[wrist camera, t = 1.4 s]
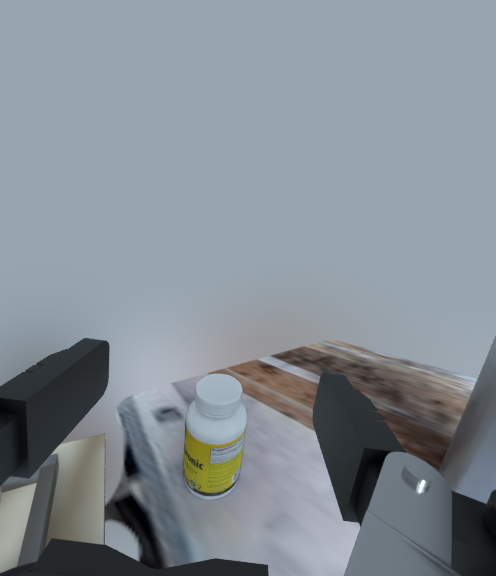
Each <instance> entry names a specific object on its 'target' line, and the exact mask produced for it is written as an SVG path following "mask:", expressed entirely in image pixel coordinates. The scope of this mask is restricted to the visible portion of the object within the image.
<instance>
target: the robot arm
mask: <svg viewBox="0 0 496 576" xmlns="http://www.w3.org/2000/svg"><path fill="white" fill-rule="evenodd" d="M108 377H109V343H108V342H107V341H104V340H96V339H89V338H84V339H82V340H81V341H79V342H78V343H76V344H75V345H73V346H72V347H70V348H69V349H65V350H63V351H60V352H57V353H54V354H51V355H49V356H48V357H46V358H44V359H43V360H41V361H40V362H38V363H37V364H36V365H33V366H32V367H30V368H29V369H27V370H26V371H25V372H22V373H21V374H19V375H18V376H16V377H14V378H13V379H11V380H10V381H8V382H7V383H5V384H3V385H2V386H0V502H1V495H2V493H1V485H2V484H3V483H4V482H5V481H6V480H7V479H8V478H9V477H10V476H11V477H19V478H27V479H30V478H31V476H32V475H33V474H34V473H35V472H36V471H37V470H38V469H39V467H40V466H41V465H42V464H43V463H44V462H45V461H46V459H47V458H48V457H49V456H50V455H51V454H52V453H53V452H54V450H55V449H56V448H57V447H58V446H59V445H60V444H61V442H62V441H63V440H64V439H65V438H66V437H67V435H68V434H69V433H70V432H71V431H72V430H73V429H74V428H75V427H76V425H77V424H78V423H79V422H80V421H81V420H82V419H83V418H84V416H85V415H86V414H87V413H88V412H89V411H90V410H91V408H92V407H93V406H94V405H95V404H96V403H97V402H98V400H99V399H100V398H101V397H102V396H103V394H104V392H105V390H106V387H107V384H108ZM313 425H314V428H315V432H316V435H317V438H318V441H319V444H320V448H321V451H322V454H323V457H324V460H325V464H326V467H327V470H328V473H329V476H330V480H331V483H332V486H333V489H334V492H335V496H336V499H337V502H338V505H339V508H340V512H341V515H342V518H343V521H350V522H358V523H359V524H360V527H361V528H360V531H359V533H358V536H357V539H356V542H355V545H354V548H353V551H352V554H351V556H350V559H349V562H348V565H347V568H346V571H345V574H344V576H496V336H495V339H494V341H493V344H492V346H491V348H490V350H489V353H488V356H487V358H486V360H485V363H484V365H483V367H482V370H481V372H480V375H479V377H478V379H477V382H476V384H475V386H474V389H473V391H472V393H471V396H470V398H469V400H468V403H467V405H466V408H465V410H464V412H463V415H462V417H461V419H460V422H459V424H458V426H457V429H456V431H455V433H454V436H453V438H452V440H451V442H450V445H449V447H448V450H447V452H446V454H445V457H444V459H443V461H442V464H441V466H440V468H439V472H438V471H437V470H435V469H434V468H433V467H432V466H431V465H429V464H428V463H426V462H425V461H423V460H421V459H420V458H418V457H415V456H413V455H411V454H408V453H406V452H405V450H404V449H403V447H402V446H401V444H400V443H399V441H398V440H397V439H396V437H395V436H394V434H393V433H392V431H391V430H390V428H389V427H388V425H387V424H386V422H384V420H383V418H382V417H381V415H380V414H379V413H377V409H376V408H375V406H374V405H373V404H372V402H371V401H370V400H369V399H368V398H367V397H366V396H365V395H363V394H362V393H361V392H360V391H359V390H354V389H353V387H352V385H351V384H350V382H349V381H348V379H347V378H346V376H345V375H344V374H337V373H330V372H323V373H322V375H321V377H320V382H319V386H318V390H317V395H316V399H315V403H314V408H313ZM0 576H268V565H264V564H256V563H248V562H240V561H232V560H224V559H216V558H215V559H210V560H205V561H200V562H195V563H190V564H185V565H180V566H174V567H169V568H164V569H153V568H150V567H148V566H146V565H144V564H142V563H140V562H138V561H136V560H134V559H132V558H131V557H128V556H126V555H125V554H123V553H120V552H119V551H117V550H115V549H113V548H111V547H109V546H107V545H103V544H95V543H87V542H79V541H71V540H63V539H55V538H52V539H51V540H50V542H49V543H48V545H47V546H46V548H45V550H44V551H43V553H42V554H41V556H40V557H39V559H38V560H37V561H36V562H31V563H27V564H24V565H21V566H17V567H14V568H12V569H9V570H7V571H4V572H2V573H0Z"/></svg>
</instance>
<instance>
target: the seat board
mask: <svg viewBox="0 0 496 576" xmlns="http://www.w3.org/2000/svg"><path fill="white" fill-rule="evenodd" d="M1 493H2V495H1V502H0V573H2V572H4V571H7V570H9V569H12V568H14V567H17V566H21V565H24V564H27V563H31V562H36V561H37V560H38V559H39V557H40V556H41V554H42V553H43V551H44V550H45V548H46V546H47V545H48V543H49V542H50V540H51V539H52V538H55V539H63V540H71V541H79V542H87V543H95V544H103V545H105V433H104V434H100V435H96V436H92V437H88V438H84V439H80V440H76V441H72V442H68V443H64V444H60V445H59V446H58V447H57V448H56V449H55V450H54V452H53V453H52V454H51V455H50V456H49V457H48V458H47V459H46V461H45V462H44V463H43V464H42V465H41V466H40V467H39V469H38V470H37V471H36V472H35V473H34V474H33V475H32V476H31V478H30V479H27V478H19V477H11V476H10V477H9V478H8V479H7V480H6V481H5V482H4V483H3V484H2V485H1Z"/></svg>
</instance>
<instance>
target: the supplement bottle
mask: <svg viewBox="0 0 496 576" xmlns="http://www.w3.org/2000/svg"><path fill="white" fill-rule="evenodd" d="M241 401H242V386H241V384H240V382H239V381H238V380H237V379H235V378H234V377H232V376H229V375H226V374H211V375H207V376H205V377H203V378H202V379H201V380H200V381H199V382H198V383H197V385H196V391H195V400H194V401H193V402H192V403H191V404H190V406H189V408H188V410H187V414H186V421H185V445H184V462H183V476H184V481H185V484H186V486H187V488H188V489H189V490H190V491H191V493H193V494H194V495H195V496H197V497H199V498H201V499H205V500H214V499H219V498H222V497H224V496H226V495H227V494H228V493H230V492H231V491H232V490H233V489H234V487H235V486H236V484H237V482H238V479H239V475H240V469H241V462H242V454H243V447H244V439H245V432H246V425H247V412H246V409H245V407H244V405H243V403H242V402H241Z"/></svg>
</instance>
